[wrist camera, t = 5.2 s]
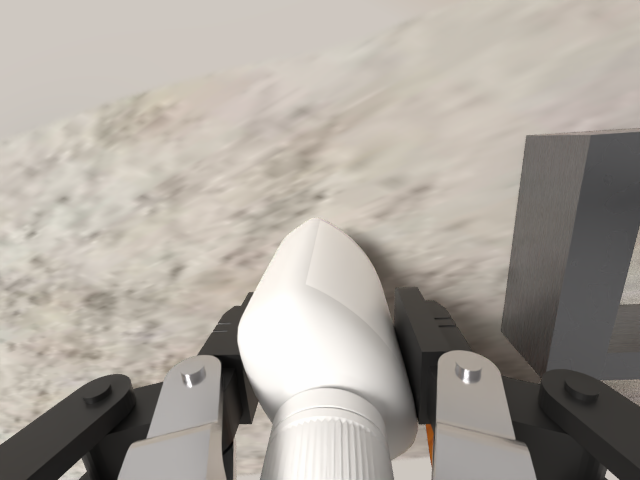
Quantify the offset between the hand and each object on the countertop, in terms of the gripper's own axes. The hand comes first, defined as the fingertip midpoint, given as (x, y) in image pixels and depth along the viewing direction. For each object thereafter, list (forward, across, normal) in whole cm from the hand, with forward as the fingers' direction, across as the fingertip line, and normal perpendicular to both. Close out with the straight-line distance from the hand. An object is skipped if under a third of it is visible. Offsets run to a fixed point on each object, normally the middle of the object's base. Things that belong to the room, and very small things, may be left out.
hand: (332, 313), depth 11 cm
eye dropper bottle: (+4, 0, 0) cm, 4 cm away
